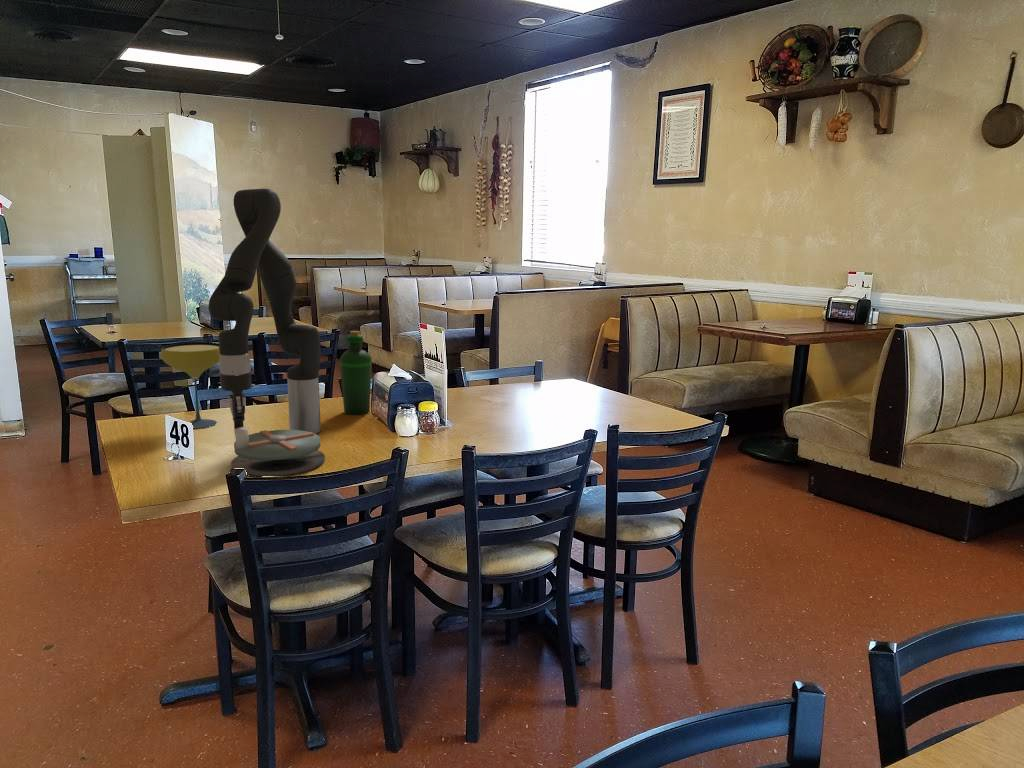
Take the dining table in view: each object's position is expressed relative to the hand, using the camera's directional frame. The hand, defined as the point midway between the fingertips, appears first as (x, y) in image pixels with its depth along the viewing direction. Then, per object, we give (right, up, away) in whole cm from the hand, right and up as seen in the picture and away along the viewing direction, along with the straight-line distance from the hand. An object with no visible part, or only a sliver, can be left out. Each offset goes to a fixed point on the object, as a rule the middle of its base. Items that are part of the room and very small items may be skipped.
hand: (239, 434), depth 193 cm
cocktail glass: (-28, 0, +40) cm, 49 cm away
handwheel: (+9, -4, +4) cm, 10 cm away
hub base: (+9, -8, +5) cm, 13 cm away
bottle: (+18, +3, +59) cm, 62 cm away
